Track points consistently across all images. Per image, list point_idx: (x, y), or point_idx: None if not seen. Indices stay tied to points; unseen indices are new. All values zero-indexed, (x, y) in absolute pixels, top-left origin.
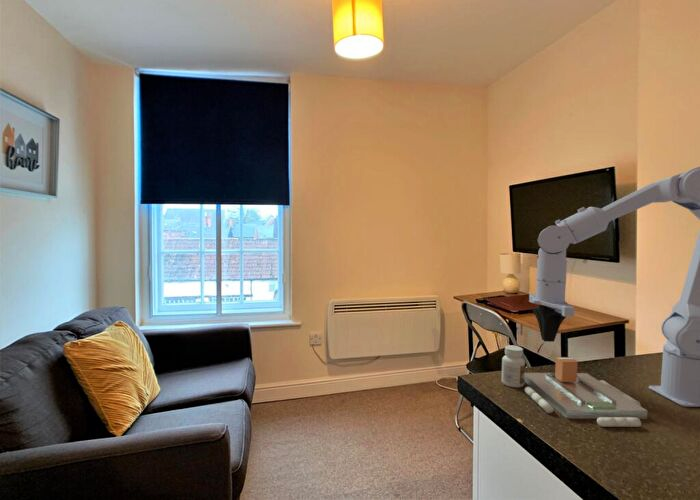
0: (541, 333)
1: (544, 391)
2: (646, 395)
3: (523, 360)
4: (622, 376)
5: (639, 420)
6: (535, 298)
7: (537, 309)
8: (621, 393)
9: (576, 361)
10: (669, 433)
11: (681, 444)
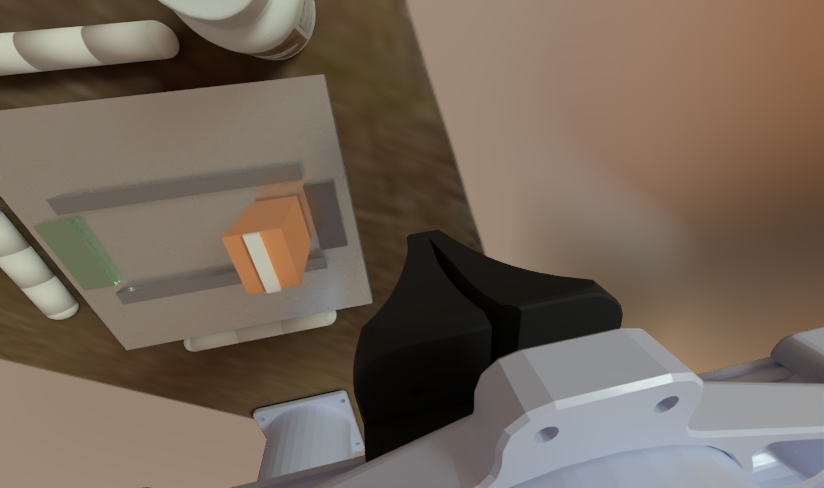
0: (441, 240)
1: (123, 97)
2: (302, 374)
3: (201, 29)
4: None
5: (45, 314)
6: (715, 446)
7: (538, 327)
8: (240, 334)
9: (249, 291)
10: (73, 346)
11: (16, 347)
